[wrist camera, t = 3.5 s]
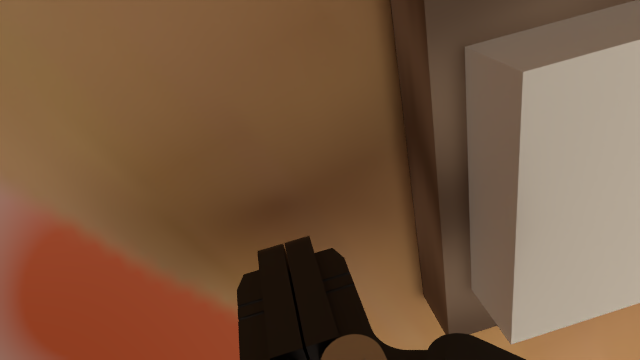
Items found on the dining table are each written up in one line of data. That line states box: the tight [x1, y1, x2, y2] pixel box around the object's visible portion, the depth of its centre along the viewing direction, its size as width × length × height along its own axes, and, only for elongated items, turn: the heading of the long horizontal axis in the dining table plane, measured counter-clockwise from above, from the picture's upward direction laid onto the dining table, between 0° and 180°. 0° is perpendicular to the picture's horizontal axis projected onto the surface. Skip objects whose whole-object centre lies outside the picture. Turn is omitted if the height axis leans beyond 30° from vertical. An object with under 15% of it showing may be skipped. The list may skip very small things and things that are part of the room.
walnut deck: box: [390, 0, 635, 335], centre depth 15 cm, size 14×10×2 cm
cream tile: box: [465, 0, 640, 344], centre depth 12 cm, size 9×6×2 cm, turn 12°
